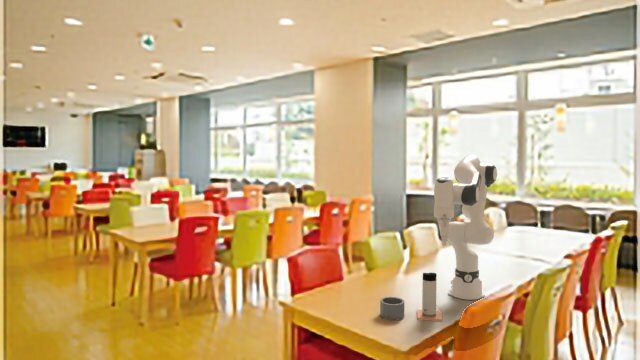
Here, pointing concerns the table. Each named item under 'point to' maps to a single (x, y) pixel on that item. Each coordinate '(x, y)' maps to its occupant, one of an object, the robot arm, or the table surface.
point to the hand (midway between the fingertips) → (443, 242)
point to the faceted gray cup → (392, 308)
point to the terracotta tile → (435, 318)
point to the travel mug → (429, 295)
